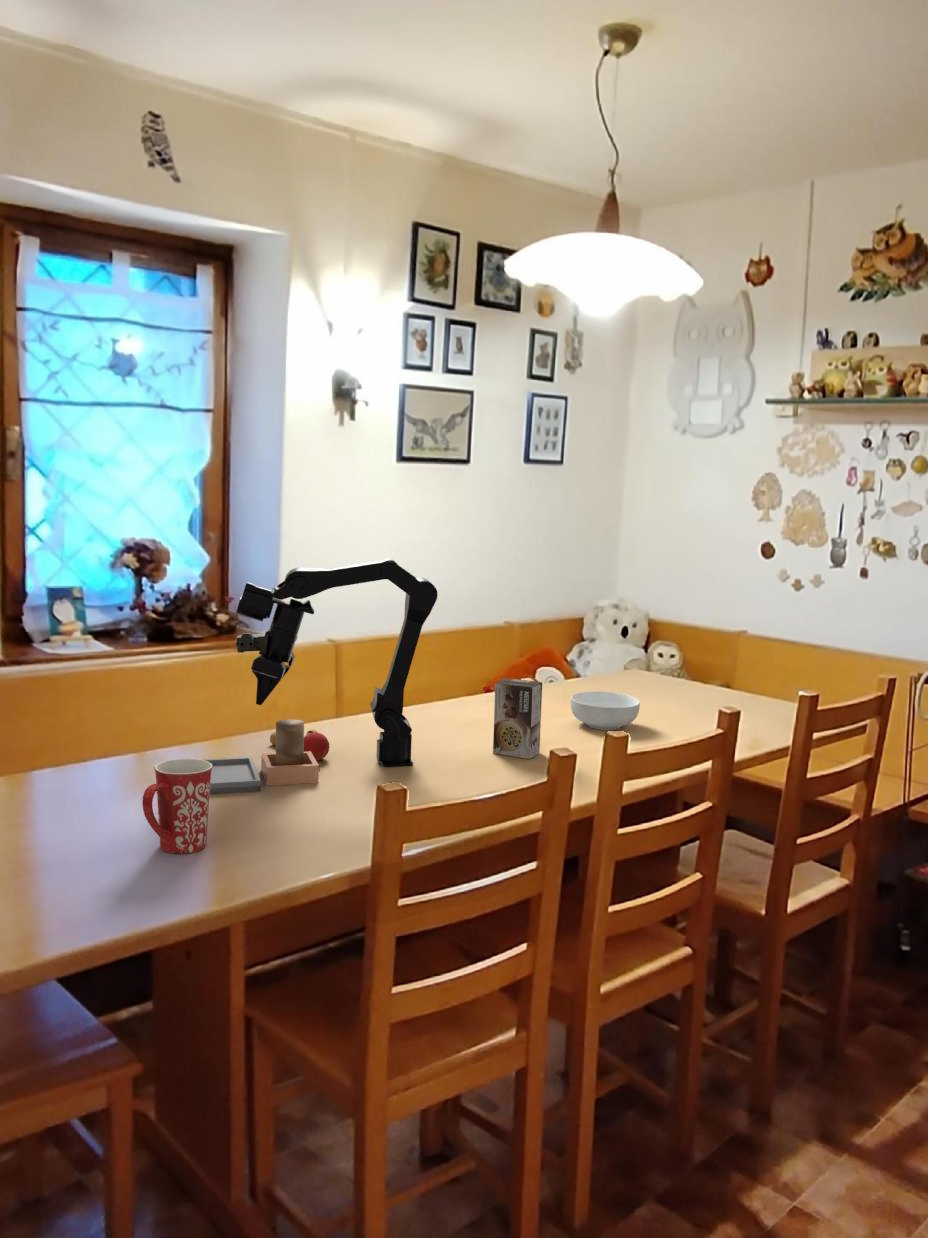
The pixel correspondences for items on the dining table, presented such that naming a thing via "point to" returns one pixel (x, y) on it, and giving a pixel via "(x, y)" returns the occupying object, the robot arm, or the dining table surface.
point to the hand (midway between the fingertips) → (262, 700)
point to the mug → (180, 804)
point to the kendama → (311, 744)
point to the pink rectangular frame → (289, 770)
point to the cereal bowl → (604, 709)
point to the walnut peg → (289, 742)
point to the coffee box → (517, 718)
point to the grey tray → (234, 775)
